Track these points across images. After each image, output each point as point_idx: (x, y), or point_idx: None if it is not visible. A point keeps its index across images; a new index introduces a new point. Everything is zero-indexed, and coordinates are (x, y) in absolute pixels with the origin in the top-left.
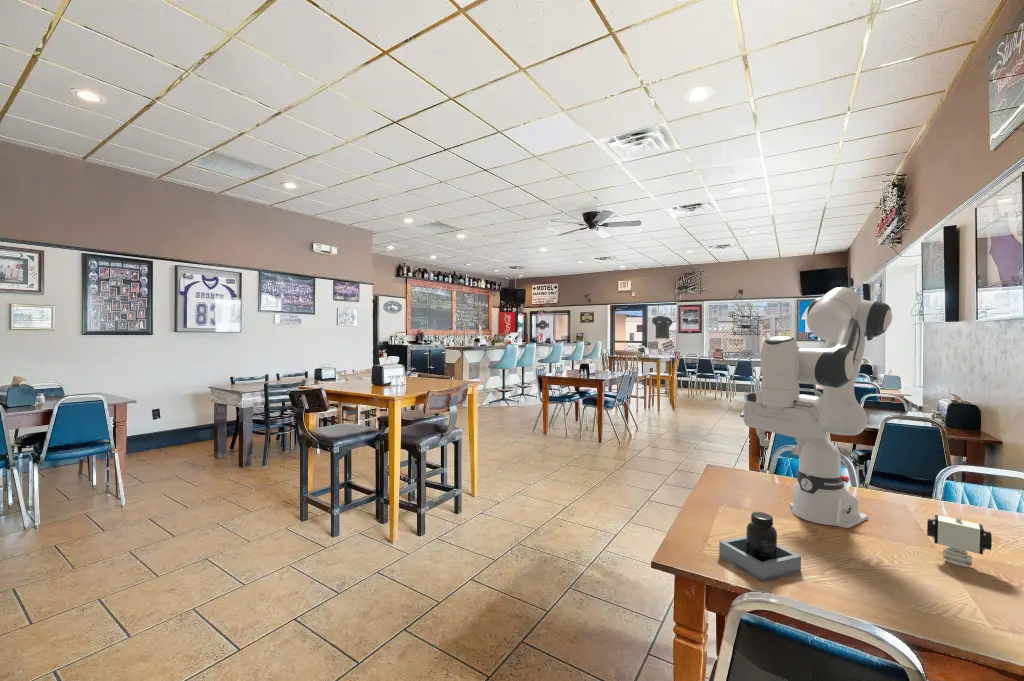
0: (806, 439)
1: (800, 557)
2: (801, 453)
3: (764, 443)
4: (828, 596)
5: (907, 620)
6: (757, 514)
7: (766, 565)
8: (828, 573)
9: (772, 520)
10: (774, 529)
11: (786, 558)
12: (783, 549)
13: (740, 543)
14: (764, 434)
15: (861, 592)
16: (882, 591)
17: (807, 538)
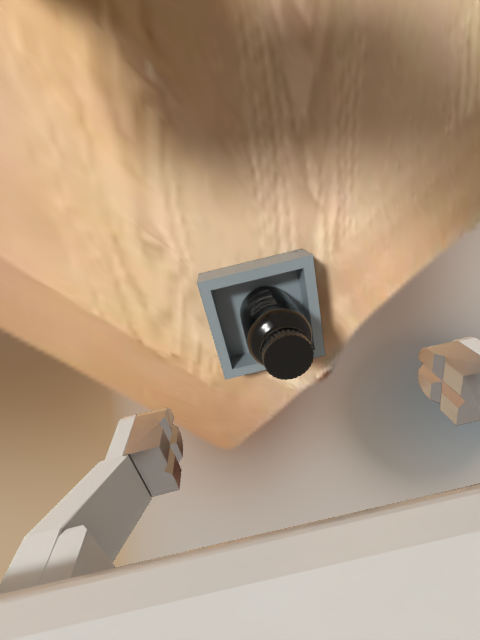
0: None
1: (312, 256)
2: (474, 343)
3: (176, 458)
4: (379, 261)
5: (472, 180)
6: (279, 364)
7: (323, 345)
8: (317, 189)
9: (307, 339)
10: (302, 324)
11: (314, 294)
12: (278, 271)
13: (222, 331)
14: (94, 503)
15: (389, 183)
16: (400, 129)
17: (145, 74)
